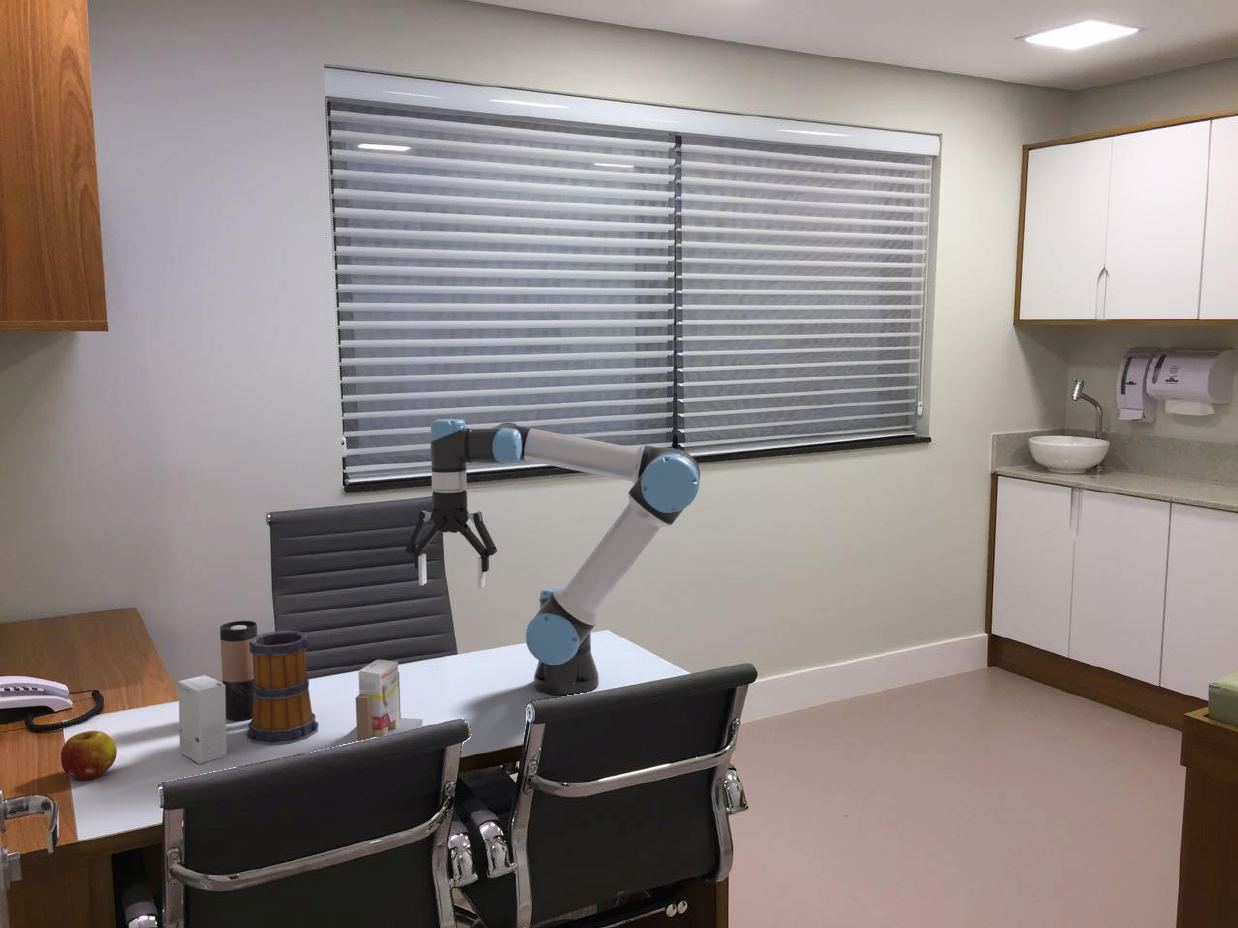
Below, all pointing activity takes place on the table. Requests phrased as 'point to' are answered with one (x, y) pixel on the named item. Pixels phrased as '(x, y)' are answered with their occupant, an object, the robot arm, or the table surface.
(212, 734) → the skincare box
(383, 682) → the ink box
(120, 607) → the table surface
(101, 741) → the fruit
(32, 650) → the table surface
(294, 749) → the table surface
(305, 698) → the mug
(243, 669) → the travel mug
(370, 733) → the peg cradle
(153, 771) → the table surface
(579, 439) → the robot arm
